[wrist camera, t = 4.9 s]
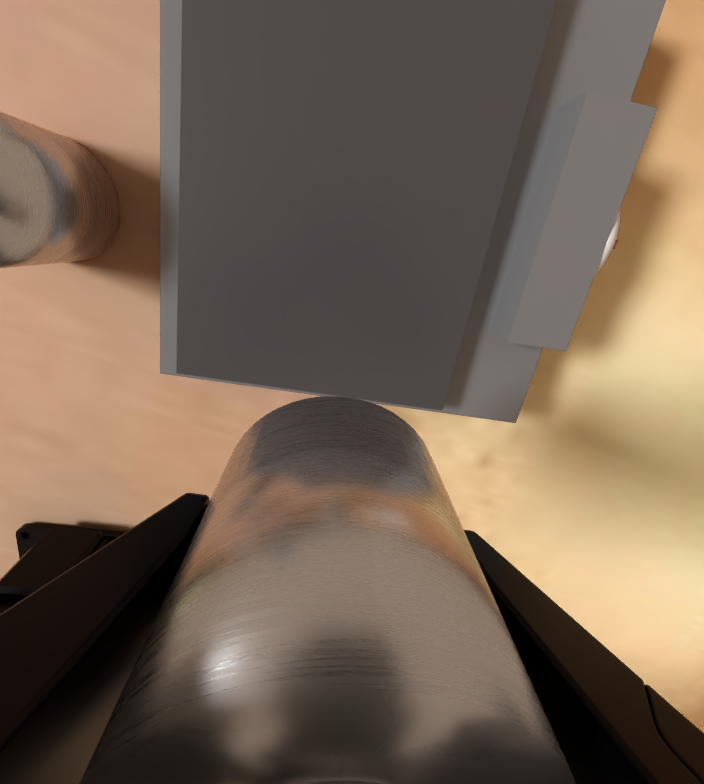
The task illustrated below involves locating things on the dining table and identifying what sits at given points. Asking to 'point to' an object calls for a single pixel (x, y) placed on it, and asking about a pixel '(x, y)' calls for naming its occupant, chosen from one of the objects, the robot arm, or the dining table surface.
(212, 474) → the dining table surface
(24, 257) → the weight
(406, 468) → the weight
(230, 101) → the scale
